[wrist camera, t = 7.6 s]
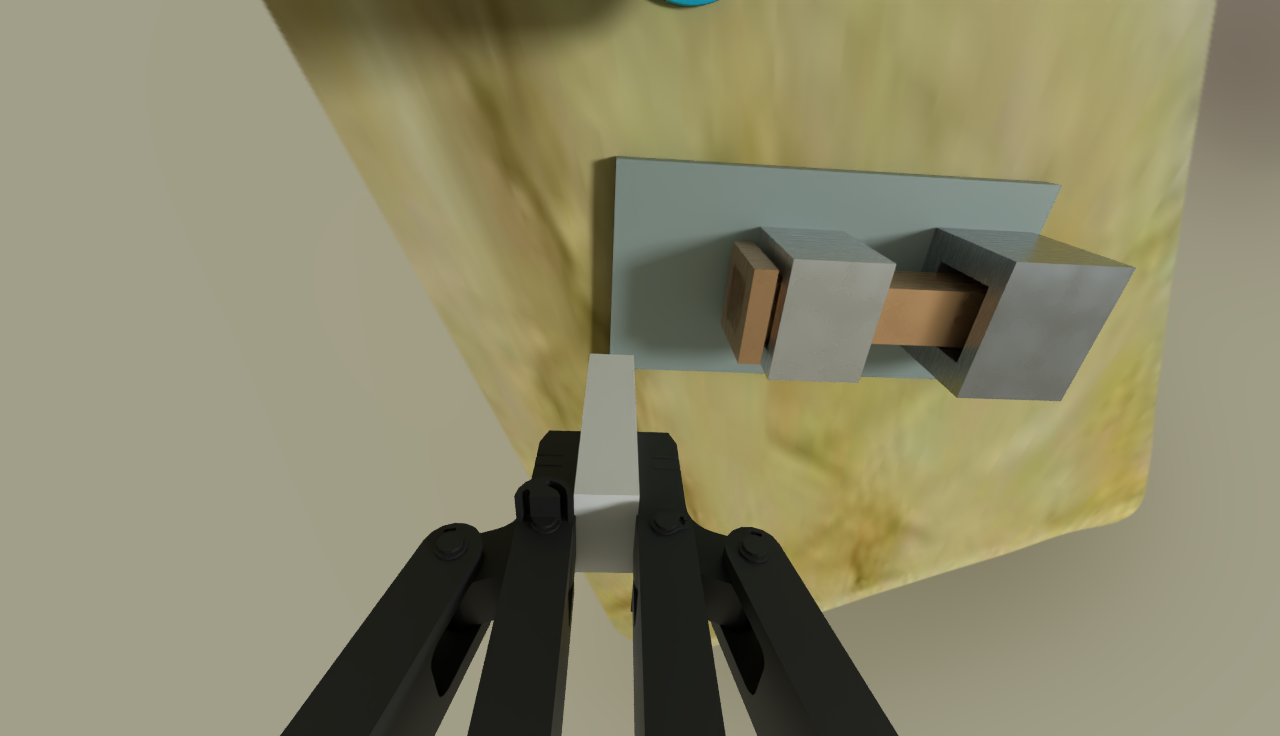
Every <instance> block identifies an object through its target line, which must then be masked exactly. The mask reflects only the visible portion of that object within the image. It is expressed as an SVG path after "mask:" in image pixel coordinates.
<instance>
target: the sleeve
mask: <svg viewBox="0 0 1280 736" xmlns="http://www.w3.org/2000/svg"><path fill="white" fill-rule="evenodd" d="M757 246H758V247H759V248H760V249H761V251H762V252H763V253H764V254H765V255H766V256H767V257H768V258H769V260H770V261H771V262H772V263H773V264H774V265H775V266H776V267H777V269H778V270H779V273H780V274H781V275H782V276H783V278H782V283H781V288H780V293H779V297H778V302H777V307H776V312H775V317H774V321H773V326H772V331H771V336H770V340H765V342H764V347H763V352H762V357H761V362H760V365H761V367H762V369H763V371H764V373H765V375H766V377H767V379H768V380H789V381H819V382H849V383H859V380H860V377H861V374H862V371H863V368H864V365H865V361H866V358H867V355H868V352H869V349H870V346H871V343H872V340H873V337H874V333H875V330H876V327H877V324H878V321H879V318H880V315H881V312H882V308H883V305H884V302H885V299H886V296H887V293H888V290H889V287H890V283H891V280H892V277H893V274H894V271H895V268H896V265H897V264H896V263H894V262H893V261H891V260H889V259H888V258H886V257H885V256H883V255H881V254H880V253H878V252H877V251H875V250H873V249H872V248H870V247H869V246H867V245H865V244H864V243H862V242H861V241H859V240H857V239H856V238H854V237H853V236H851V235H849V234H848V233H846V232H845V231H836V230H817V229H797V228H778V227H760V231H759V236H758V242H757Z"/></svg>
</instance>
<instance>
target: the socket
mask: <svg viewBox="0 0 1280 736" xmlns="http://www.w3.org/2000/svg"><path fill="white" fill-rule="evenodd" d="M1135 269H1136V268H1135V267H1132V266H1129V265H1126V264H1123V263H1121V262H1118V261H1115V260H1112V259H1109V258H1106V257H1103V256H1100V255H1097V254H1094V253H1091V252H1088V251H1086V250H1083V249H1080V248H1077V247H1074V246H1071V245H1068V244H1065V243H1062V242H1059V241H1056V240H1053V239H1051V238H1048V237H1045V236H1042V235H1039V234H1036V233H1033V232H1017V231H998V230H980V229H961V228H942V227H936V229H935V232H934V235H933V238H932V241H931V244H930V247H929V249H928V252H927V255H926V258H925V261H924V264H923V267H922V270H921V272H933V273H954V274H966V275H968V276H970V277H972V278H974V279H975V280H977V281H979V282H981V283H983V284H985V285H987V286H989V289H988V291H987V294H986V296H985V298H984V301H983V303H982V305H981V308H980V310H979V312H978V315H977V317H976V319H975V322H974V324H973V327H972V329H971V331H970V334H969V336H968V338H967V341H966V343H965V345H964V347H943V346H917V345H900V346H901V347H902V348H903V349H904V350H905V351H906V352H907V353H908V354H909V355H911V356H912V357H913V358H914V359H915V360H916V361H917V362H918V363H919V364H920V365H922V366H923V367H924V368H925V369H926V370H927V371H928V372H929V373H930V374H931V375H933V376H934V377H935V378H936V379H937V380H938V381H939V382H940V383H941V384H942V385H944V386H945V387H946V388H947V389H948V390H949V391H950V392H951V393H952V394H953V395H955V396H956V397H957V398H982V399H1013V400H1045V401H1061V400H1062V398H1063V396H1064V395H1065V393H1066V391H1067V389H1068V387H1069V386H1070V384H1071V382H1072V380H1073V379H1074V377H1075V375H1076V373H1077V372H1078V370H1079V368H1080V366H1081V364H1082V363H1083V361H1084V359H1085V357H1086V356H1087V354H1088V352H1089V350H1090V348H1091V347H1092V345H1093V343H1094V341H1095V340H1096V338H1097V336H1098V334H1099V333H1100V331H1101V329H1102V327H1103V325H1104V324H1105V322H1106V320H1107V318H1108V317H1109V315H1110V313H1111V311H1112V310H1113V308H1114V306H1115V304H1116V302H1117V301H1118V299H1119V297H1120V295H1121V294H1122V292H1123V290H1124V288H1125V286H1126V285H1127V283H1128V281H1129V279H1130V278H1131V276H1132V274H1133V272H1134V271H1135Z"/></svg>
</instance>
